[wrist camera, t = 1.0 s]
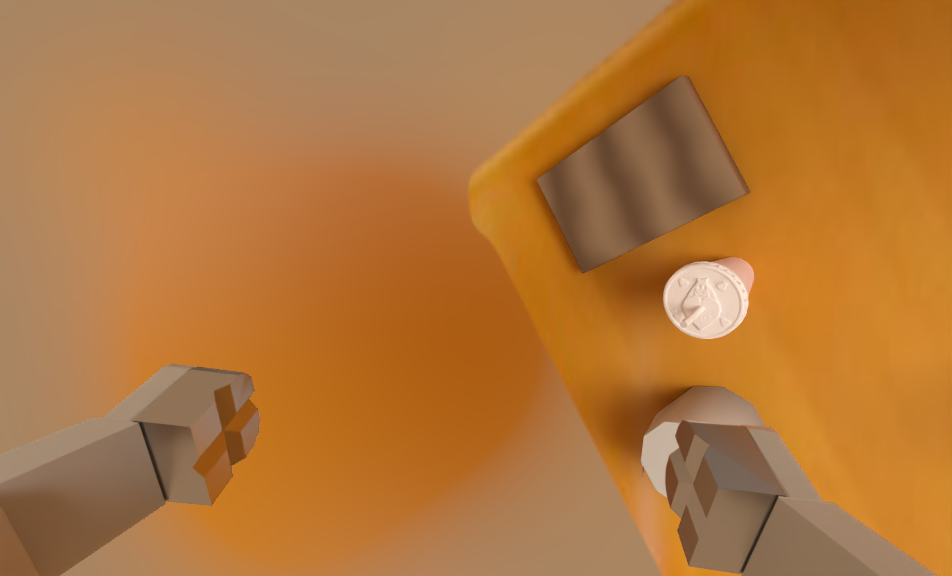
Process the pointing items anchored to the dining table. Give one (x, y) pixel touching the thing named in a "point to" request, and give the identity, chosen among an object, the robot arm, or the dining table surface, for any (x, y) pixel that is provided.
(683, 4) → the dining table surface
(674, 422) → the toilet tissue
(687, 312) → the smoothie
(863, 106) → the dining table surface
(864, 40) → the dining table surface
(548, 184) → the walnut board
